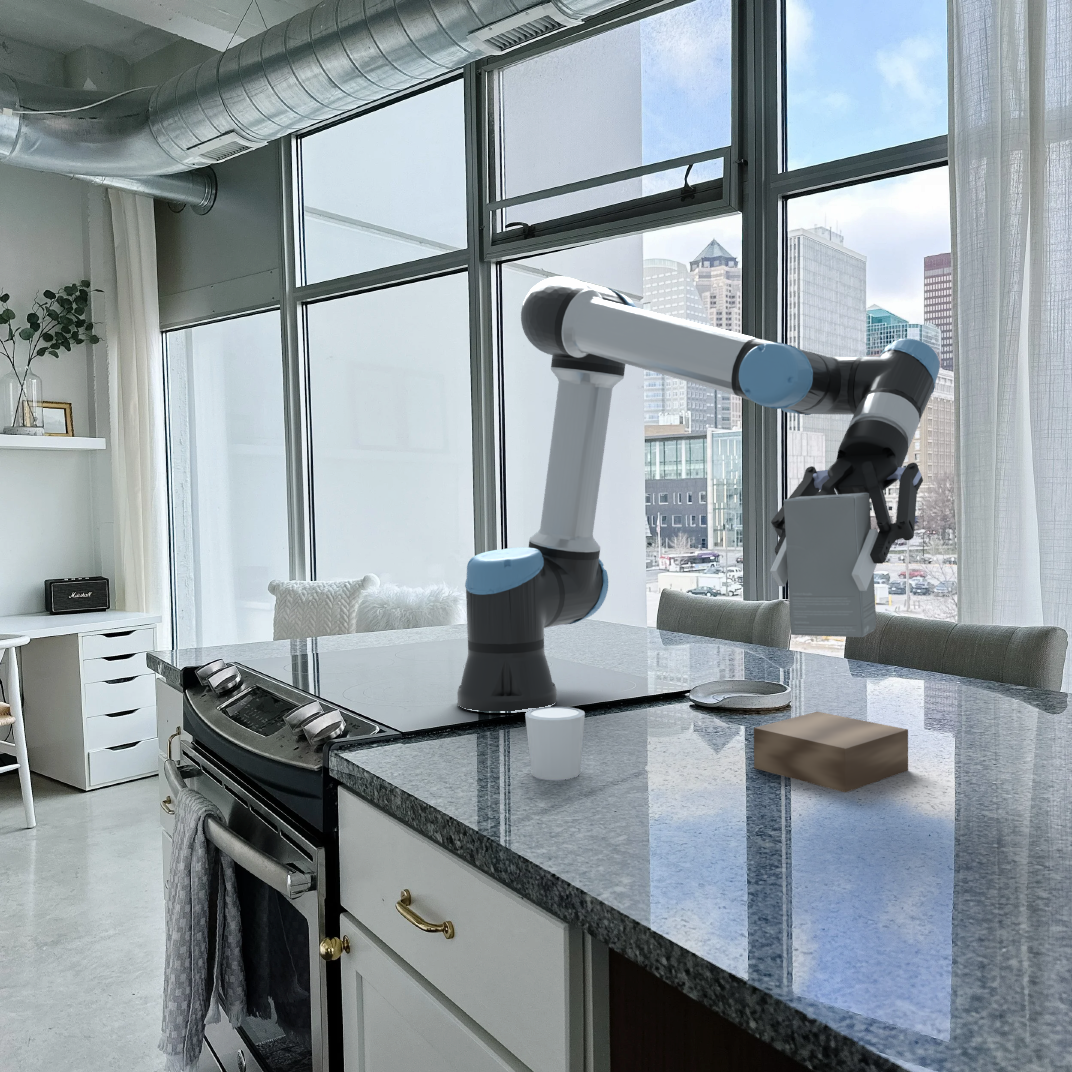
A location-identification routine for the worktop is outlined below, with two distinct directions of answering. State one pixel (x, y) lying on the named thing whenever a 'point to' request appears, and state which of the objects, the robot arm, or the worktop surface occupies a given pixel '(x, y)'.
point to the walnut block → (831, 750)
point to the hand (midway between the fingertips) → (816, 580)
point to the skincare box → (828, 565)
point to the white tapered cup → (555, 742)
